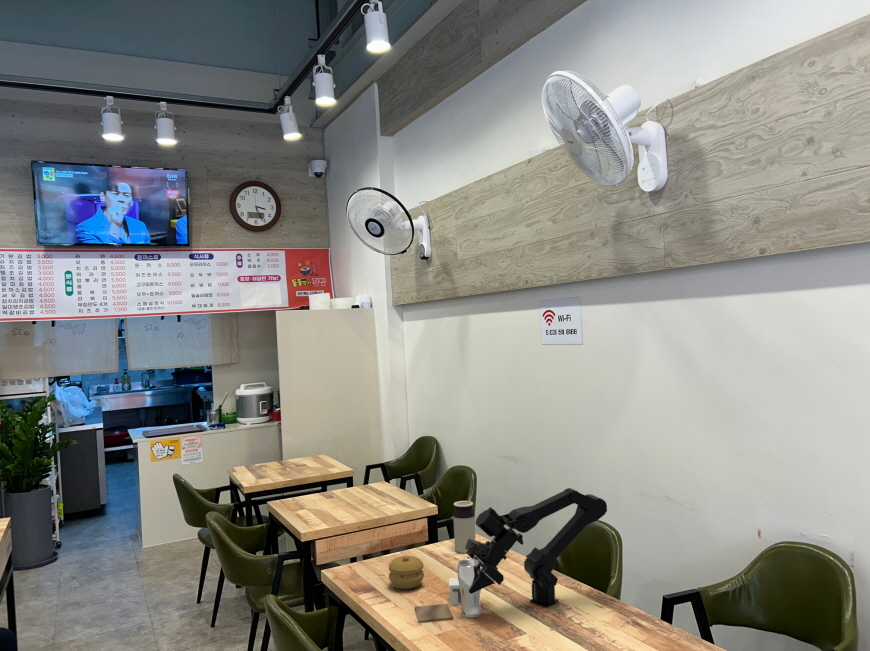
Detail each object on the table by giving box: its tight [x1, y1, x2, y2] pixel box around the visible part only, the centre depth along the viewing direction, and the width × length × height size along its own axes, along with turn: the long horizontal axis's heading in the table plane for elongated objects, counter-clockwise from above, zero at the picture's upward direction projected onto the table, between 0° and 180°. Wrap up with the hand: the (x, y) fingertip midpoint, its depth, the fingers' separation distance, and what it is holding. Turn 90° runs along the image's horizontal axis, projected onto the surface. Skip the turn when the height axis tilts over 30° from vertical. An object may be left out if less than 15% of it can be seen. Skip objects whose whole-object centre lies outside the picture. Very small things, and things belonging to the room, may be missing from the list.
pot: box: [388, 555, 425, 590], centre depth 215 cm, size 12×12×10 cm
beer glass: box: [457, 558, 483, 619], centre depth 191 cm, size 7×7×15 cm
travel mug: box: [452, 500, 476, 554], centre depth 249 cm, size 8×8×18 cm
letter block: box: [448, 577, 462, 606], centre depth 201 cm, size 6×6×6 cm
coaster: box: [414, 603, 454, 624], centre depth 192 cm, size 10×10×1 cm
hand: (466, 588), depth 191 cm, fingers closed on beer glass, 7 cm apart
